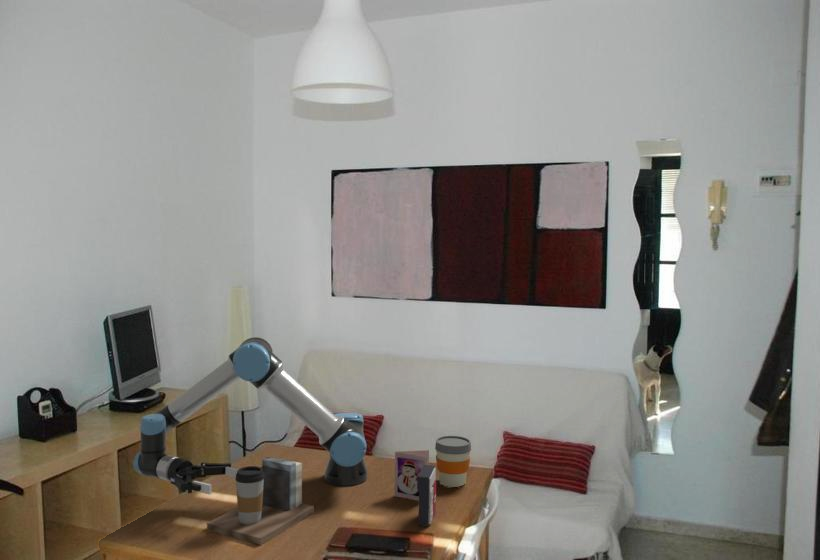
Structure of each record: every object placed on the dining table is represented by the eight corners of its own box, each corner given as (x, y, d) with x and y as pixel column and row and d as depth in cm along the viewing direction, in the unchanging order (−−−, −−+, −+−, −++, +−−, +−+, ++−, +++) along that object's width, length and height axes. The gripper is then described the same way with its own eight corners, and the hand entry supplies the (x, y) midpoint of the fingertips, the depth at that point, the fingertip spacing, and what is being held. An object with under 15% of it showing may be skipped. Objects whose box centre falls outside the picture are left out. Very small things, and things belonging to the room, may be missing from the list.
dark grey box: (430, 527, 198) (431, 477, 197) (416, 525, 199) (417, 476, 198) (436, 512, 209) (437, 465, 208) (423, 510, 210) (423, 464, 209)
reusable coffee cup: (433, 488, 228) (433, 445, 227) (435, 475, 241) (436, 434, 240) (469, 490, 227) (470, 447, 226) (470, 477, 239) (471, 436, 238)
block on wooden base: (206, 529, 194) (206, 475, 193) (263, 499, 216) (263, 451, 215) (260, 545, 185) (260, 489, 184) (313, 512, 207) (314, 462, 206)
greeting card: (393, 496, 221) (393, 452, 220) (403, 489, 227) (403, 446, 226) (424, 503, 216) (425, 457, 215) (433, 495, 222) (434, 451, 221)
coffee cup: (238, 514, 200) (238, 465, 199) (266, 514, 201) (266, 465, 200) (233, 526, 192) (233, 475, 191) (262, 526, 192) (262, 475, 191)
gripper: (204, 469, 221) (254, 480, 212) (143, 494, 199) (196, 509, 189) (204, 446, 221) (254, 457, 211) (143, 470, 199) (195, 483, 189)
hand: (227, 482), depth 200 cm, fingers open, 13 cm apart
